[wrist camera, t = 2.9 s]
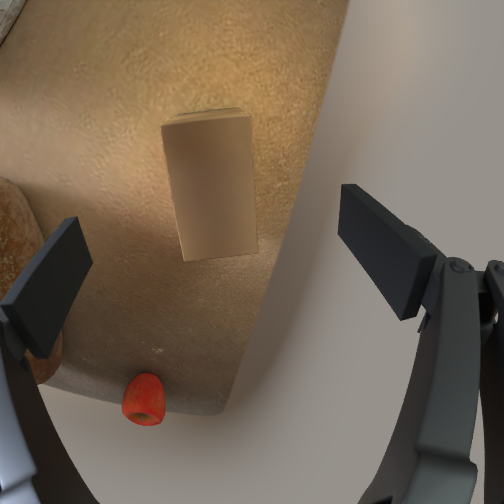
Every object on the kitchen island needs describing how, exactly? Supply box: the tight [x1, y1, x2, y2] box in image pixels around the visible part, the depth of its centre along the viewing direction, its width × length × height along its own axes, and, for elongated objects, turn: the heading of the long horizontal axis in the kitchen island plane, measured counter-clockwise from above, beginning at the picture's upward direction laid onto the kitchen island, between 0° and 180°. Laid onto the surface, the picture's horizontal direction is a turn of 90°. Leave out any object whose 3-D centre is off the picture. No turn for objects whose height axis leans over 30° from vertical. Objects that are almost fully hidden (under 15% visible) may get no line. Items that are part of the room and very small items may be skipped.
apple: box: [122, 373, 165, 426], centre depth 35 cm, size 6×6×8 cm
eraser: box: [161, 108, 258, 262], centre depth 20 cm, size 5×9×8 cm, turn 3°
